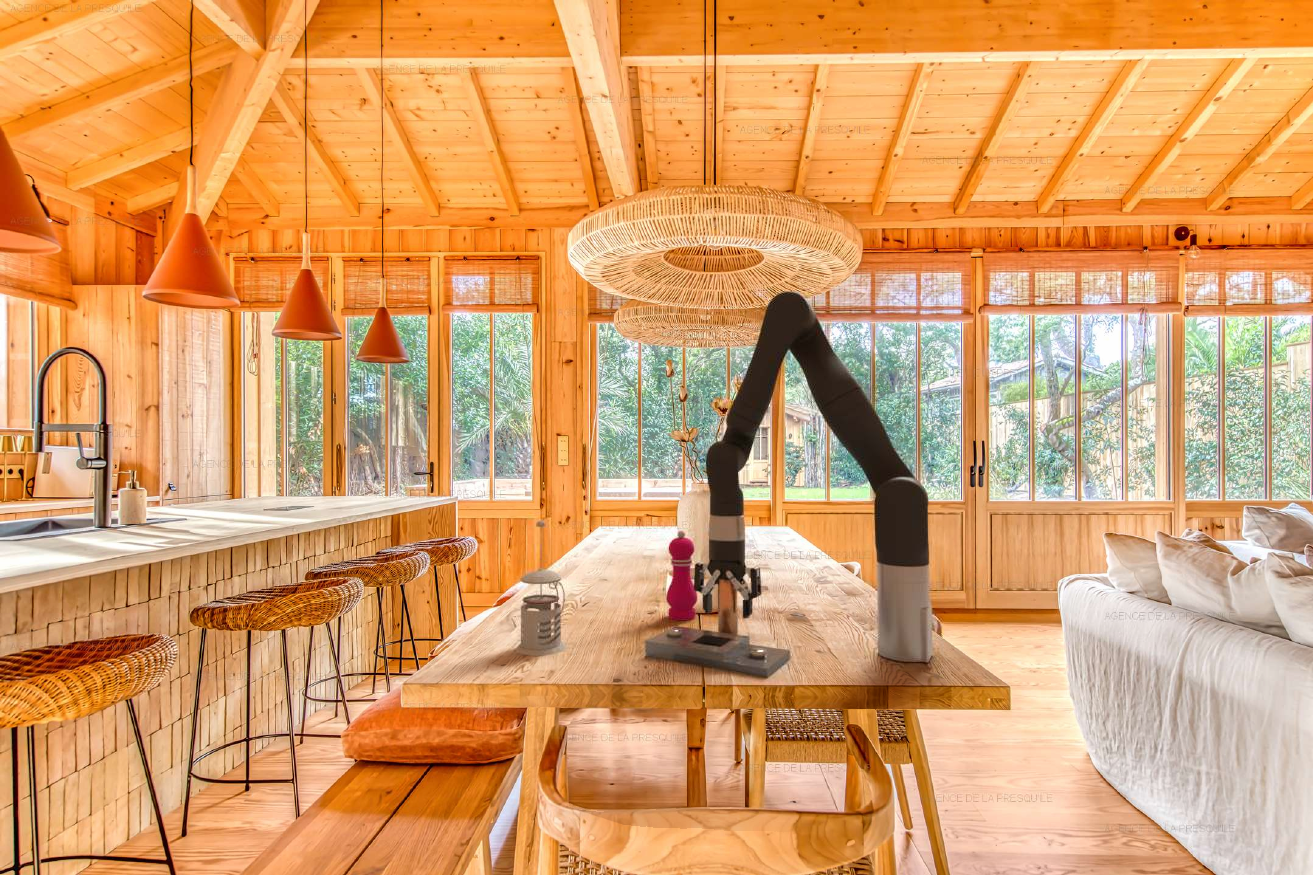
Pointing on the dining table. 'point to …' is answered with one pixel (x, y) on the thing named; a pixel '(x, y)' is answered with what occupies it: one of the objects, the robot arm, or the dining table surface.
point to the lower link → (743, 660)
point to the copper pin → (727, 607)
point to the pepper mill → (681, 579)
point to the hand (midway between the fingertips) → (727, 615)
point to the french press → (541, 614)
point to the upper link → (694, 644)
